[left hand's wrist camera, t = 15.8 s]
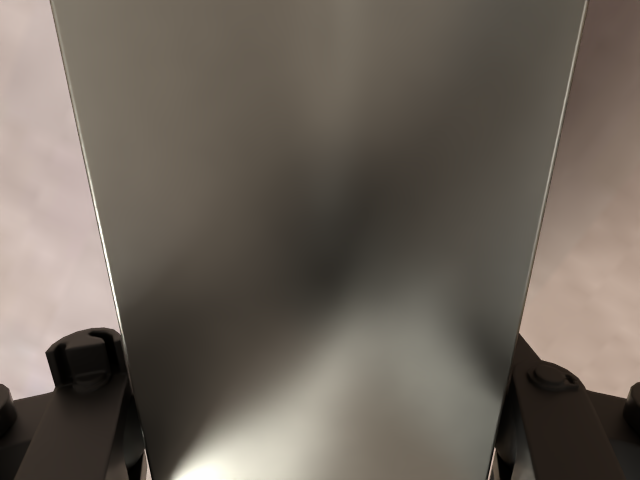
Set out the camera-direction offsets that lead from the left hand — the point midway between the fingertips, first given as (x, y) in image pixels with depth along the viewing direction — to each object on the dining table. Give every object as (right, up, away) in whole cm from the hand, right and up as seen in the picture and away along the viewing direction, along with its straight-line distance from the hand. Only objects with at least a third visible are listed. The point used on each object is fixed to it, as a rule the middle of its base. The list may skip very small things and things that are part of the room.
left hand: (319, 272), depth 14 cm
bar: (0, +8, -2) cm, 9 cm away
